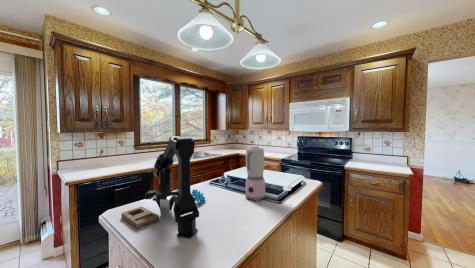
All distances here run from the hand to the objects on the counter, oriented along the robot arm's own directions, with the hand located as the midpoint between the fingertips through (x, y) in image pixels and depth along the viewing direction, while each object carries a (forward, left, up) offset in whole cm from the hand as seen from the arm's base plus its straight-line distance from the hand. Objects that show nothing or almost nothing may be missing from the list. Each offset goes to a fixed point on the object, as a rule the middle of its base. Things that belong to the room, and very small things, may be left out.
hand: (166, 210), depth 98 cm
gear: (-9, -18, -2) cm, 20 cm away
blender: (-40, -31, -2) cm, 51 cm away
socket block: (+9, +8, -2) cm, 12 cm away
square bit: (0, 0, -2) cm, 2 cm away
